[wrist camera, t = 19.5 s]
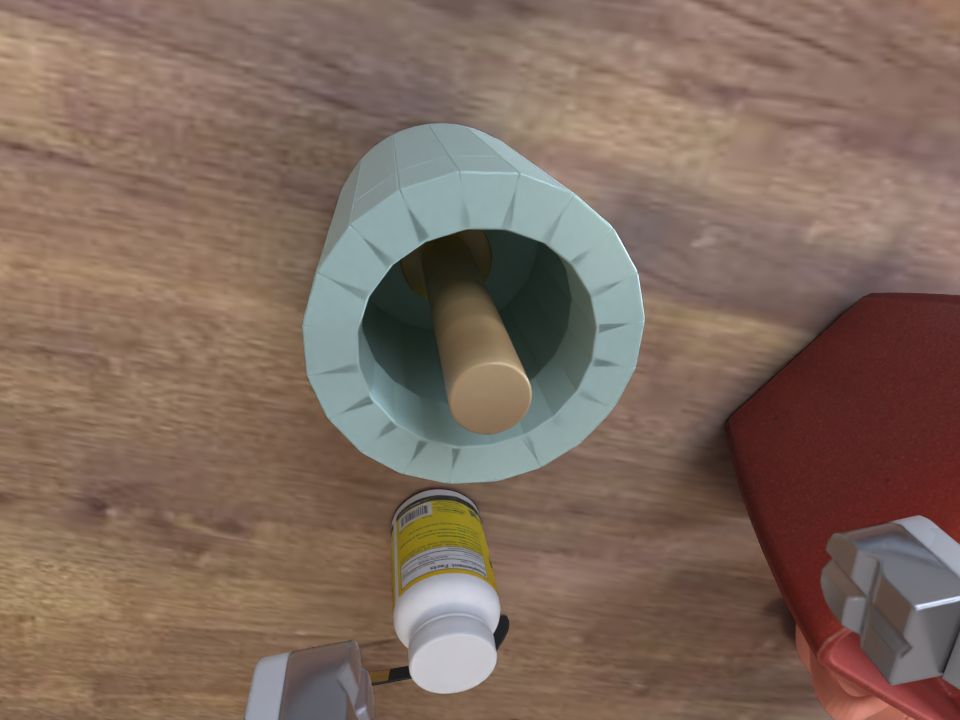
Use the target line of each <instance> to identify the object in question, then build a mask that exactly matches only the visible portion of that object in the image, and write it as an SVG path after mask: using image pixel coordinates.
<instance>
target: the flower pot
mask: <svg viewBox="0 0 960 720" xmlns="http://www.w3.org/2000/svg"><path fill="white" fill-rule="evenodd" d="M725 429H726V435H727V441H728V446H729V450H730V455H731V459H732V463H733V467H734V470H735V474H736V478H737V481H738V484H739V488H740V491H741V494H742V497H743V500H744V503H745V506H746V509H747V512H748V515H749V518H750V520H751V523H752V525H753V528H754V531H755V533H756V536H757V538H758V541H759V543H760V546H761V549H762V551H763V553H764V555H765V558H766V560H767V562H768V565H769V567H770V569H771V572H772V574H773V576H774V578H775V580H776V582H777V585H778V587H779V589H780V591H781V593H782V595H783V597H784V599H785V601H786V603H787V605H788V607H789V609H790V611H791V613H792V615H793V617H794V619H795V621H796V623H797V625H798V627H799V629H800V631H801V632H802V634H803V636H804V638H805V640H806V641H807V643H808V645H809V647H810V648H811V650H812V652H813V653H814V655H815V657H816V659H817V660H818V662H819V663H820V664H822V665H823V666H825V667H826V668H828V669H829V670H831V671H833V672H834V673H836V674H837V675H839V676H841V677H842V678H844V679H846V680H847V681H849V682H851V683H852V684H854V685H856V686H857V687H859V688H861V689H863V690H864V691H866V692H868V693H870V694H871V695H873V696H875V697H877V698H878V699H880V700H882V701H884V702H885V703H887V704H889V705H890V706H892V707H894V708H896V709H898V710H899V711H901V712H903V713H904V714H906V715H908V716H909V717H911V718H913V719H914V720H960V690H959V689H958V688H956V687H955V686H953V685H952V684H950V683H948V682H947V681H945V680H944V679H942V677H943V675H942V676H937V677H932V678H927V679H922V680H917V681H912V682H907V683H902V684H898V685H893V686H891V685H890V684H889V683H888V682H887V680H886V679H885V678H884V677H883V675H882V674H881V673H880V672H879V671H878V669H877V668H876V667H875V666H874V664H873V663H872V662H871V661H870V659H869V658H868V657H867V656H866V655H865V653H864V652H863V651H862V650H861V644H860V635H859V634H858V633H856V632H854V631H852V630H850V629H848V628H846V627H844V626H842V625H841V623H840V622H839V621H838V620H837V618H836V617H835V616H834V615H833V613H832V612H831V610H830V608H829V607H828V605H827V603H826V601H825V599H824V595H823V592H822V588H821V584H820V581H821V574H822V569H823V568H824V566H825V565H826V564H827V563H828V562H829V561H830V560H831V559H832V557H831V556H830V555H829V553H828V552H827V551H826V547H827V543H828V539H829V538H830V537H831V536H832V535H833V534H835V533H839V532H844V531H848V530H852V529H857V528H861V527H865V526H869V525H874V524H878V523H882V522H890V521H894V520H899V519H903V518H908V517H912V516H918V515H920V516H923V517H925V518H927V519H929V520H931V521H932V522H933V523H934V524H936V525H937V526H938V527H939V528H940V529H942V530H943V531H944V532H945V533H946V534H947V535H949V536H950V537H951V538H952V539H953V540H955V541H956V542H957V543H958V544H959V545H960V295H948V294H925V293H871V294H869V295H866V296H864V297H862V298H861V299H860V300H859V301H857V302H856V303H855V304H854V305H853V306H852V307H851V308H850V309H849V310H848V311H846V312H845V313H844V314H843V315H842V316H841V317H840V318H839V319H838V320H836V321H835V322H834V323H833V324H832V325H831V326H830V327H829V328H828V329H827V330H825V331H824V332H823V333H822V334H821V335H820V336H819V337H818V338H817V339H815V340H814V341H813V342H812V343H811V344H810V345H809V346H808V347H807V348H805V349H804V350H803V351H802V352H801V353H800V354H799V355H798V356H797V357H796V358H794V359H793V360H792V361H791V362H790V363H789V364H788V365H787V366H786V367H785V368H783V369H782V370H781V371H780V372H779V373H778V374H777V375H776V376H774V377H773V378H772V379H771V380H770V381H769V382H768V383H767V384H766V385H765V386H764V387H763V388H762V389H760V390H759V391H758V392H757V393H756V394H755V395H754V396H753V397H752V398H751V399H750V400H748V401H747V402H746V403H745V404H744V405H743V406H742V407H741V408H739V409H738V410H737V411H736V412H735V413H734V414H733V415H732V416H731V417H730V418H729V419H728V421H727V424H726V426H725Z"/></svg>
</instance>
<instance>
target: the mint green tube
mask: <svg viewBox="0 0 960 720" xmlns="http://www.w3.org/2000/svg"><path fill="white" fill-rule="evenodd" d="M466 229H480V230H483V231H484V232H485V234H486V236H487V238H488V240H489V242H490V245H491V249H492V265H491V269H490V272H489V275H488V277H487V279H486V280H485V284H486V287H487V289H488V291H489V293H490V295H491V298H492V300H493V302H494V304H495V306H496V309H497V311H498V313H499V315H500V318H501V320H502V322H503V324H504V326H505V329H506V331H507V333H508V335H509V338H510V340H511V342H512V344H513V346H514V349H515V351H516V353H517V355H518V357H519V360H520V362H521V364H522V366H523V369H524V371H525V373H526V375H527V377H528V380H529V382H530V385H531V389H532V399H531V404H530V406H529V409H528V411H527V413H526V414H525V416H524V417H523V418H522V419H521V421H520V422H518V423H517V424H516V425H515V426H513V427H512V428H510V429H508V430H506V431H503V432H500V433H497V434H489V435H485V434H477V433H473V432H471V431H468V430H466V429H465V428H463V427H462V426H460V425H459V424H458V423H457V422H456V421H455V419H454V418H453V417H452V415H451V413H450V410H449V405H448V400H447V395H446V389H445V384H444V379H443V373H442V368H441V363H440V357H439V352H438V347H437V342H436V336H435V331H434V326H433V320H432V315H431V310H430V304H429V300H428V299H426V298H424V297H422V296H420V295H419V294H417V293H416V292H415V291H414V290H413V289H412V288H411V287H410V286H409V284H408V283H407V281H406V280H405V278H404V276H403V273H402V270H401V265H400V259H402V258H403V257H405V256H406V255H408V254H409V253H410V252H412V251H413V250H415V249H416V248H418V247H419V246H420V245H422V244H423V243H425V242H427V241H430V240H433V239H437V238H440V237H443V236H446V235H450V234H453V233H456V232H459V231H463V230H466ZM644 320H645V317H644V310H643V303H642V297H641V290H640V283H639V276H638V273H637V270H636V268H635V266H634V264H633V262H632V260H631V259H630V257H629V255H628V253H627V251H626V249H625V247H624V246H623V244H622V242H621V240H620V238H619V236H618V235H617V233H616V231H615V229H613V228H612V226H611V225H610V224H609V223H608V222H607V221H606V220H604V219H603V218H602V217H601V216H600V215H599V214H597V213H596V212H595V211H594V210H593V209H592V208H591V207H589V206H588V205H587V204H586V203H585V202H584V201H583V200H581V199H580V198H579V197H578V196H577V195H576V194H574V193H573V192H571V191H570V190H569V189H567V188H566V187H564V186H563V185H562V184H560V183H559V182H558V181H556V180H555V179H553V178H552V177H551V176H549V175H548V174H547V173H545V172H544V171H542V170H541V169H540V168H538V167H537V166H535V165H534V164H533V163H531V162H530V161H528V160H527V159H526V158H524V157H523V156H521V155H520V154H519V153H517V152H516V151H514V150H513V149H512V148H510V147H509V146H507V145H506V144H505V143H503V142H502V141H500V140H499V139H497V138H494V137H492V136H490V135H488V134H486V133H484V132H481V131H479V130H476V129H474V128H470V127H466V126H462V125H457V124H448V123H432V124H424V125H419V126H414V127H411V128H408V129H405V130H402V131H399V132H397V133H395V134H393V135H391V136H389V137H387V138H386V139H384V140H383V141H381V142H380V143H378V144H377V145H375V146H374V147H373V148H372V149H371V150H370V151H369V152H367V153H366V154H365V155H364V156H363V157H362V159H361V160H360V161H359V162H358V163H357V165H356V166H355V167H354V169H353V170H352V172H351V174H350V175H349V177H348V178H347V180H346V183H345V184H344V186H343V187H342V189H341V192H340V196H339V199H338V202H337V205H336V209H335V212H334V215H333V218H332V222H331V225H330V228H329V231H328V234H327V238H326V241H325V244H324V247H323V251H322V254H321V257H320V260H319V264H318V267H317V270H316V273H315V277H314V281H313V284H312V288H311V292H310V295H309V299H308V303H307V306H306V310H305V314H304V318H303V321H302V324H303V325H302V333H303V344H304V354H305V365H306V373H307V377H308V380H309V382H310V384H311V386H312V388H313V390H314V392H315V394H316V396H317V398H318V400H319V402H320V405H321V407H322V409H323V411H324V413H325V415H326V417H327V418H328V419H329V421H330V422H331V423H332V424H333V425H334V426H335V427H336V428H337V429H338V430H339V431H340V432H341V433H342V434H343V435H344V436H345V437H346V438H347V439H348V440H349V441H350V442H351V443H352V444H353V445H354V446H355V447H356V448H357V449H358V450H359V451H360V452H362V454H364V455H366V456H368V457H370V458H372V459H374V460H376V461H377V462H379V463H381V464H383V465H385V466H387V467H389V468H391V469H393V470H395V471H397V472H398V473H400V474H405V475H408V476H413V477H418V478H423V479H427V480H432V481H437V482H442V483H450V484H458V483H477V482H494V481H500V480H503V479H507V478H510V477H513V476H516V475H519V474H523V473H526V472H529V471H532V470H535V469H539V468H541V467H543V466H544V465H546V464H548V463H549V462H551V461H553V460H554V459H556V458H558V457H559V456H561V455H562V454H564V453H566V452H567V451H569V450H571V449H572V448H574V447H575V446H577V445H579V444H580V443H581V442H583V441H584V440H585V438H586V437H587V436H588V435H589V434H590V433H591V432H592V431H593V430H594V429H595V428H596V427H597V426H598V425H599V424H600V423H601V422H602V421H603V420H604V419H605V418H606V417H607V416H608V415H609V413H610V412H611V411H612V410H613V408H614V407H615V406H616V404H617V402H618V400H619V398H620V396H621V395H622V393H623V391H624V389H625V387H626V385H627V383H628V381H629V380H630V378H631V376H632V374H633V372H634V370H635V366H636V364H637V359H638V354H639V349H640V343H641V338H642V333H643V327H644Z"/></svg>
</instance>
